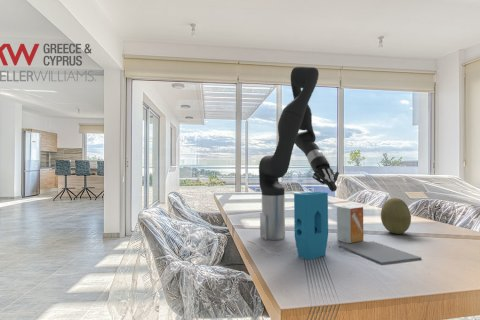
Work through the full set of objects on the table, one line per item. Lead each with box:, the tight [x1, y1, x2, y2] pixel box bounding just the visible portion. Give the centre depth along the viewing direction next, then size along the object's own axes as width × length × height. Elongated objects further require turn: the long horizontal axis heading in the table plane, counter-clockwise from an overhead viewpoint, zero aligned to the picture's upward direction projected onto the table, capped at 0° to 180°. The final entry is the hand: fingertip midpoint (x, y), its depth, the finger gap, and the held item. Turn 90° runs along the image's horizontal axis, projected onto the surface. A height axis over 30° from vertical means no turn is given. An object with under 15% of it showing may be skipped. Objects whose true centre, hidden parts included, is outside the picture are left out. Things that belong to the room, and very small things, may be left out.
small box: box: [336, 204, 364, 244], centre depth 113 cm, size 8×6×13 cm
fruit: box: [380, 197, 412, 235], centre depth 124 cm, size 11×11×15 cm
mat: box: [338, 240, 422, 265], centre depth 97 cm, size 15×20×1 cm
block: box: [293, 191, 329, 261], centre depth 94 cm, size 12×5×20 cm, turn 128°
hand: (334, 190), depth 122 cm, fingers closed
